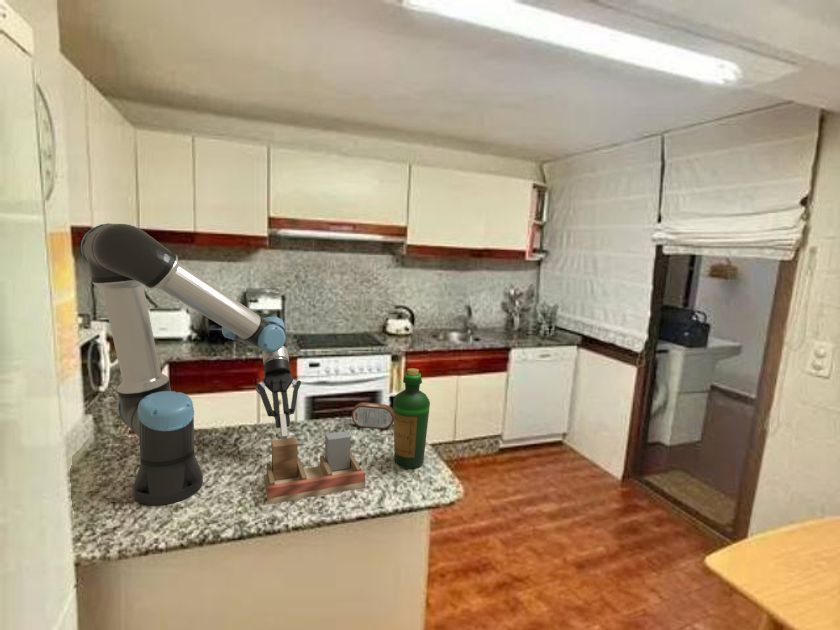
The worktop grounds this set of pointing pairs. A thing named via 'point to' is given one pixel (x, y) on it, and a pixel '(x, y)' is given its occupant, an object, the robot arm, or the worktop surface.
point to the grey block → (337, 450)
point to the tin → (373, 415)
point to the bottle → (410, 422)
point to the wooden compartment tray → (313, 481)
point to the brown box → (284, 458)
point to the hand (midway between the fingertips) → (284, 437)
